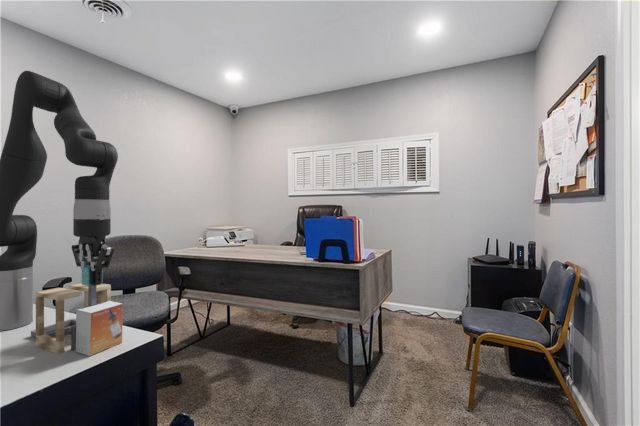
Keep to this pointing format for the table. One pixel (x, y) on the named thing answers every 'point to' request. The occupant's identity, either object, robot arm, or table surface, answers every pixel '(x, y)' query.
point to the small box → (99, 327)
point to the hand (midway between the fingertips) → (92, 283)
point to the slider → (91, 299)
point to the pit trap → (52, 328)
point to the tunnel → (62, 312)
